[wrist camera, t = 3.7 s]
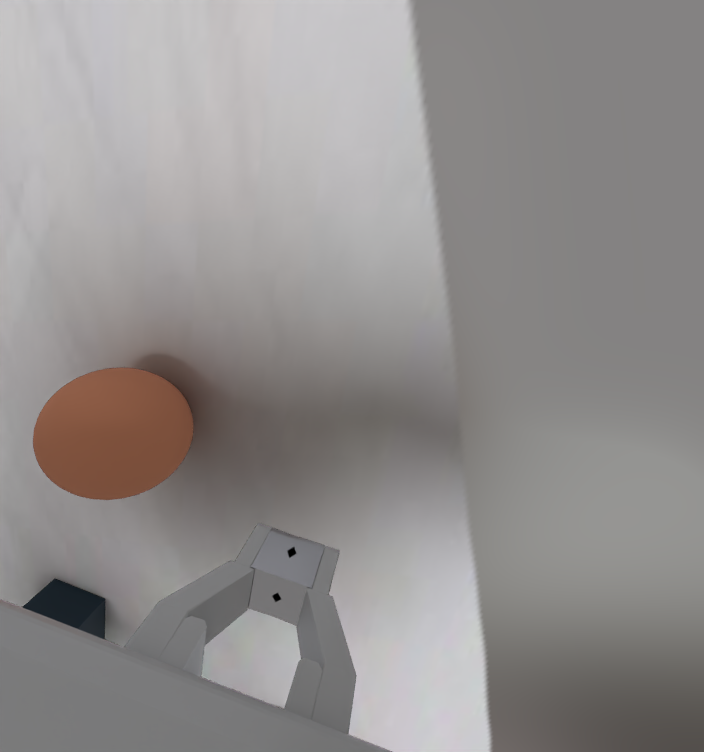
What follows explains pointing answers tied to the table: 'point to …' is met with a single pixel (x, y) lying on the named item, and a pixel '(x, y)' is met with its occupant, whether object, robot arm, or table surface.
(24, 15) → the table surface
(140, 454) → the ball
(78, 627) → the watch
